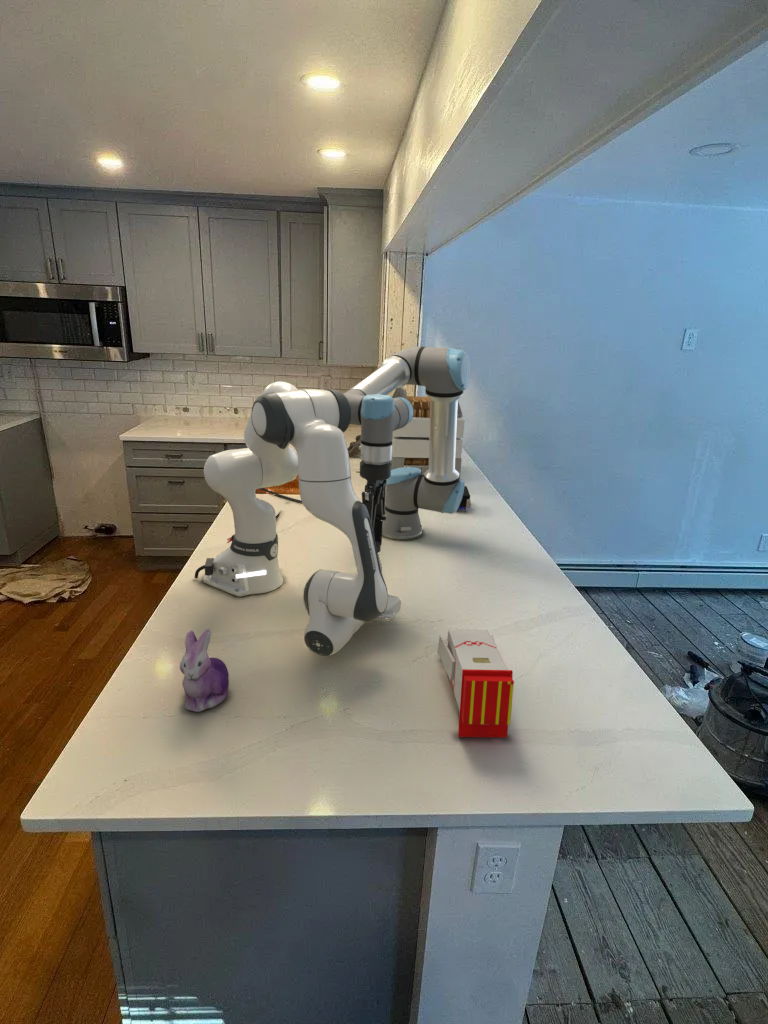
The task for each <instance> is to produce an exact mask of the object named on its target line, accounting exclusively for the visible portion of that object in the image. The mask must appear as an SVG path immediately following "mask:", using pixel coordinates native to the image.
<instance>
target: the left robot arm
mask: <svg viewBox="0 0 768 1024" xmlns="http://www.w3.org/2000/svg"><path fill="white" fill-rule="evenodd" d="M350 420H351V407H350V404H349V402H348V400H347V398H346V396H345V395H344V394H343V392H341V391H339V390H337V389H333V388H332V389H331V388H324V389H319V388H318V389H317V388H316V389H315V388H300V389H298V388H297V387H296V386H295V385H293V384H292V383H289V382H286V381H274V382H271V383H269V384H268V385H267V386H266V387H265V388H264V390H263V391H262V392H261V393H260V395H259V396H257V397H256V398H255V400H254V402H253V404H252V407H251V413H250V416H249V418H248V421H247V423H246V426H245V429H244V431H243V439H244V442H245V445H246V447H244V448H234V449H226V450H223V451H220V452H217V453H214V454H211V455H209V456H208V457H207V459H206V461H205V463H204V466H203V478H204V480H205V483H206V484H207V486H208V487H209V488H210V489H211V490H213V491H214V492H215V493H218V494H219V495H220V496H222V497H223V498H224V499H225V500H226V502H227V504H229V506H230V509H231V512H232V517H233V524H234V534H231V536H230V537H229V538H227V539H226V541H227V542H226V544H229V543H230V542H231V543H230V546H229V547H227V548H226V549H225V550H223V551H221V552H220V553H219V554H217V555H216V556H215V557H207V558H206V560H205V562H204V563H205V564H203V565H201V566H199V567H198V568H197V569H196V571H195V573H194V578H195V579H199V575H200V572H201V571H203V570H204V576H203V578H202V582H203V583H204V584H207V585H209V586H211V587H213V588H217V589H219V590H222V591H223V592H226V593H228V594H231V595H234V596H236V597H245V596H248V595H258V594H264V593H269V592H272V591H275V590H276V589H278V588H280V587H281V586H282V585H283V583H284V578H283V575H282V572H281V568H280V563H279V562H280V561H279V556H278V555H279V536H278V533H277V519H276V516H277V512H276V509H275V507H274V506H273V504H272V503H270V502H269V501H266V500H264V499H261V498H258V497H257V495H256V490H260V489H259V488H264V489H267V488H272V487H279V486H282V485H284V484H288V483H290V482H292V481H294V480H296V479H297V477H298V492H299V497H300V500H301V501H302V503H301V504H302V506H303V507H304V508H305V509H306V510H307V512H309V513H310V514H311V515H312V516H313V517H314V518H316V519H318V520H320V521H321V522H324V523H327V524H329V525H331V526H333V527H334V528H336V529H338V530H339V531H340V532H341V533H343V534H344V535H345V536H346V537H347V539H348V540H349V542H350V545H351V549H352V553H353V558H354V564H355V568H356V573H352V572H347V571H346V572H345V571H338V570H331V569H318V570H316V571H315V572H313V573H312V575H311V576H310V577H309V579H308V580H307V581H306V583H305V585H304V588H303V594H302V595H303V605H304V608H305V610H306V613H307V615H308V622H307V624H306V625H307V626H306V628H305V631H304V633H303V640H304V644H305V645H306V647H307V649H309V650H310V651H311V652H312V653H314V654H316V655H318V656H324V657H329V656H332V655H334V654H336V653H338V652H339V651H340V650H341V649H342V648H343V647H344V646H345V645H347V643H348V642H349V641H350V640H351V638H352V637H353V634H355V633H356V632H357V631H358V630H359V629H361V627H362V626H363V625H364V623H371V622H373V621H375V620H377V621H381V622H387V621H390V620H392V619H394V617H396V616H397V615H398V614H399V613H400V611H401V607H402V599H401V598H400V597H399V596H396V595H392V594H389V593H388V587H387V584H386V581H385V579H384V576H383V571H382V572H381V568H380V563H379V558H378V554H379V553H377V548H376V543H375V538H374V533H373V529H372V524H371V520H370V516H369V513H368V510H367V508H366V506H365V505H364V504H363V503H362V501H361V500H360V499H359V498H358V496H357V493H355V492H356V491H355V490H354V486H353V482H352V473H351V472H352V471H351V462H350V457H349V454H348V444H347V441H346V440H347V439H346V436H345V434H344V433H345V432H346V431H347V430H348V429H349V426H350V425H351V424H350ZM290 445H291V446H292V447H293V448H292V447H291V446H290Z"/></svg>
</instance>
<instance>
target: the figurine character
mask: <svg viewBox="0 0 768 1024" xmlns="http://www.w3.org/2000/svg"><path fill="white" fill-rule="evenodd" d="M471 501H472V500H471V494H470V491H469V488H468V486H467V485H465V487H464V493H463V497H462V500H461V503H460V505H459V507H458V509H457V510H456V512H460V510H463V511H464V513H466V512H467V509H470V508H471V505H472V504H471ZM466 508H467V509H466Z"/></svg>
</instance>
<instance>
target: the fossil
mask: <svg viewBox="0 0 768 1024" xmlns="http://www.w3.org/2000/svg"><path fill="white" fill-rule="evenodd" d="M354 440H355V441H351V442H350V443H349V446H347V448H348V454H349V458H352V457H355V456H357V455H359V454H361V450H360V449H359V446H361V434H358V435H356V436H355V438H354Z"/></svg>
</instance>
